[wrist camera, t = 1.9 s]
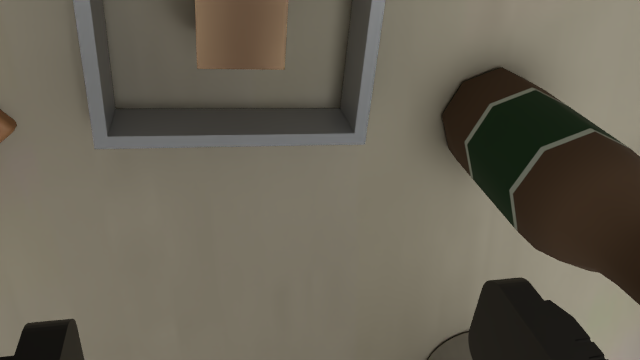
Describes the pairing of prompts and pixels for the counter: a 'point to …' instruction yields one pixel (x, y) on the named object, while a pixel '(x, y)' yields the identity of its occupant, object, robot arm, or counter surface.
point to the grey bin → (230, 124)
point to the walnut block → (241, 34)
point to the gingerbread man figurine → (6, 125)
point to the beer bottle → (550, 174)
